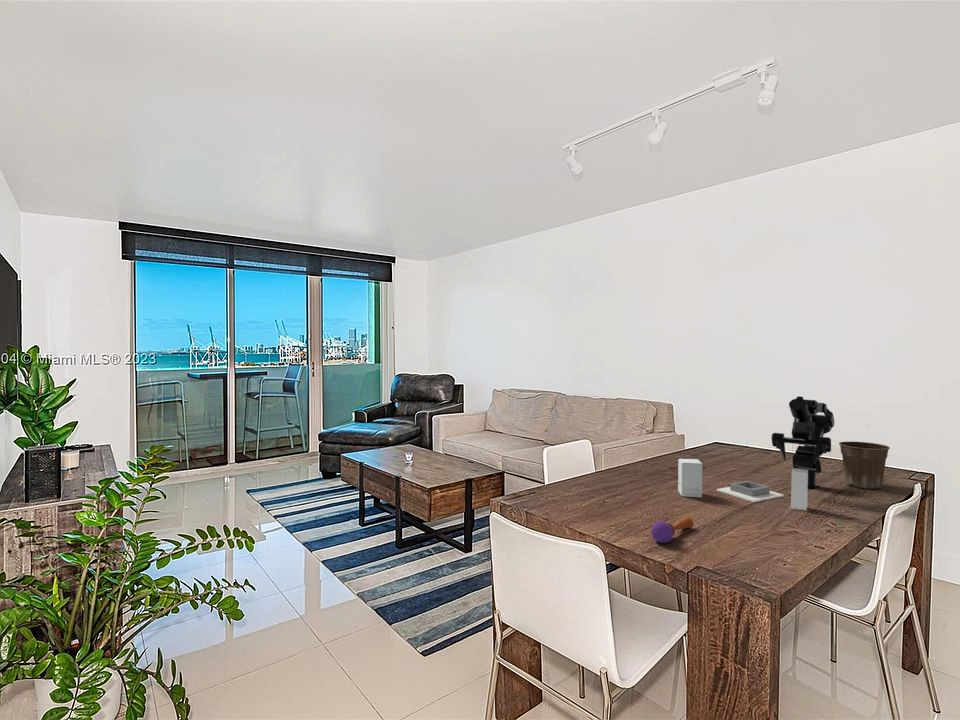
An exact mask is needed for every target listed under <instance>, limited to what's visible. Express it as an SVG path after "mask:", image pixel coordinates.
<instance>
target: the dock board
mask: <svg viewBox="0 0 960 720" xmlns="http://www.w3.org/2000/svg"><path fill="white" fill-rule="evenodd" d="M716 492H720V493H723V494H727V495H730V496H733V497H736V498H739V499H742V500H746V501H749V502H752V503H756V502H757V503H758V502H762V501H767V500H772V499H773V500H774V499H778V498H783V497H785V495H784V494H783V493H778V492H775V491H772V490H771V486H769V485H768V486H767V485H764V484H761V483H757V482H753V481H749V480H745V481H739V482H738V481H737V482H733V483H730V484H729V486H726V487H720V488H716Z"/></svg>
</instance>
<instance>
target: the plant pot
mask: <svg viewBox="0 0 960 720" xmlns="http://www.w3.org/2000/svg"><path fill="white" fill-rule="evenodd" d="M838 445H839V447H840V454H842V466H843V477H844V484H846V485H847V486H853V487H855V488H859V489H865V490H866V489H867V490H877V489H882V488H883V485H884V477H885V468H886V461H887V458H888V455H889V453H888V452H889V450H890V448H891V447H890V446H889V445H885V444H881V443H876V442H875V443H874V442H868V441H867V442H865V441H841V442H838Z"/></svg>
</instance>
